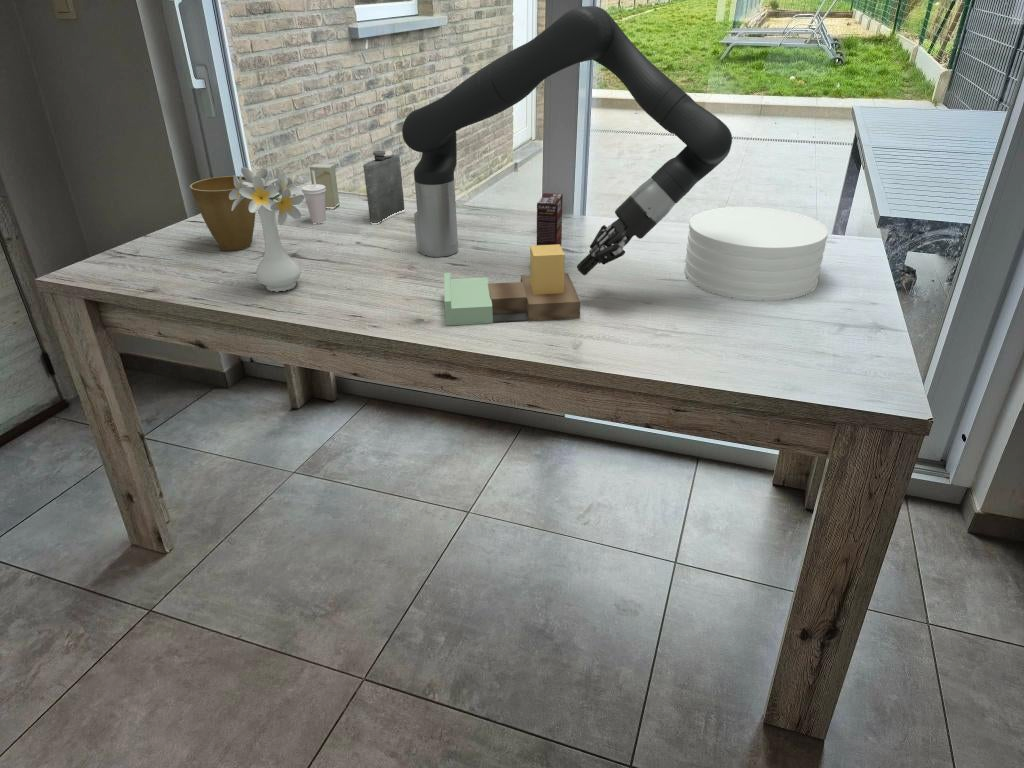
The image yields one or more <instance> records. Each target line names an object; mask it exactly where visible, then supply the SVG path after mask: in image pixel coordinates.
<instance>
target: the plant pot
mask: <svg viewBox="0 0 1024 768" xmlns="http://www.w3.org/2000/svg"><path fill="white" fill-rule="evenodd" d="M236 176H237V178H238V180H239V176H240V175H236ZM233 178H234V175H226V176H217V177H211V178H205V179H201V180H198V181H195V182H193V183H191V184H190V185H189V188H190V190H191V193H192V197H193V198H194V200H195V205H196V206H197V208H198V211H199V212H200V213H199V214H200V215H201V217H202V219H203V221H204V222H205V224H206V227H207V228H208V230H209V232H210V234H211V235H212V237H213V239H214V241H215V242H216V243H217V245H218V246H219V248H220V250H223V251H228V252H229V251H232V252H233V251H241V250H244V248H245V249H247V247H248V248H250V247H251V246H252V242H253V237H254V235H253V234H254V231H255V223H256V222H255V221H256V212H255V213H251V212H249V204H250V202H251V201H252V199H248V198H245V197H244V198H243V199H242V200H241V201H240V202H239V203H238V205H237V206H236V207H235V209H234V210H233V211H232V210H231V209H232V205H233V203H234V201H235V200H237V199H234V200H230V199H229V194H230V192H231V191H232V190H238V189H237V188H236V187H235V185H234V181H233ZM241 178H242V180H246V179H245V177H244V176H243V175H241ZM246 181H247V180H246ZM244 188H246V187H244Z"/></svg>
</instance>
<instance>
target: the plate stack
mask: <svg viewBox="0 0 1024 768" xmlns="http://www.w3.org/2000/svg"><path fill="white" fill-rule="evenodd" d="M688 226H689V227H688V228H689V231H688V234H687V244H686V253H685V260H684V262H685V265H684V270H683V273H685V274H684V276H685V275H686V276H685V278H686V277H687V278H688V279H689V280H690V281H691V282H692V283H693V285H694V284H695V285H694V286H695V287H697V286H698V287H697V288H699V287H700V288H699V289H701V288H702V289H701V290H703V289H705V290H704V291H706V290H707V291H706V292H709V293H711V292H712V294H714V293H715V294H714V295H719V296H722V295H723V296H722V297H726V296H727V298H731V297H733V298H732V299H736V298H738V299H737V300H743V299H745V300H744V301H754V300H778V301H783V300H782V299H787V300H790V299H789V298H793V299H795V298H794V297H798V296H801V297H803V296H802V295H804V294H806V295H808V294H810V293H812V292H813V291H814V290H815V289H816V288H817V286H818V283H819V282H818V281H819V275H820V272H821V268H822V267H821V265H822V262H823V258H824V253H825V249H826V242H827V239H828V235H829V230H828V228H827V226H826V225H825V224H823V223H822V222H821V221H818V220H817V219H815V218H812V217H810V216H807V215H804V214H800V213H797V212H793V211H788V210H783V209H777V208H772V207H771V208H769V207H759V206H758V207H757V206H729V207H727V206H726V207H719V208H718V207H717V208H712V209H708V210H704V211H702V212H698V213H696V214H695V215H693V216H692V217H691V218H690V220H689V225H688ZM687 278H686V279H687ZM688 279H687V280H688ZM689 280H688V281H689ZM690 281H689V282H690ZM691 282H690V283H691ZM815 287H816V288H815ZM814 288H815V289H814ZM813 289H814V290H813ZM812 290H813V291H812ZM811 291H812V292H811ZM809 292H810V293H809ZM807 293H808V294H807ZM804 296H805V295H804ZM798 298H799V297H798ZM746 299H747V300H746Z"/></svg>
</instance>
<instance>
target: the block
mask: <svg viewBox="0 0 1024 768" xmlns="http://www.w3.org/2000/svg"><path fill="white" fill-rule="evenodd" d="M529 253H530V254H529V255H530V256H529V259H530V262H529V265H530V266H529V267H530V268H529V269H530V270H529V272H530V273H529V275H530V284H531V287H532V291H533V294H534V295H540V294H559V293H564V273H565V259H566V258H565V257H566V256H565V255H566V254H565V253H564V250H563V248H562V244H561V245H560V244H557V245H537V244H536V245H530V246H529Z"/></svg>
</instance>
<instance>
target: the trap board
mask: <svg viewBox="0 0 1024 768" xmlns="http://www.w3.org/2000/svg"><path fill="white" fill-rule="evenodd" d="M488 287H489V295H490V296H491V298H490V299H491V301H492V311H493V323H492V324H497V323H499V324H500V323H517V322H518V323H520V322H535V321H537V322H538V321H552V320H570V319H580V318H581V300H580V298H579V295H578V293H577V291H576V289H575V286H574V284H573V282H572V280H571V277H570V274H569V273H568V272H567V273H566V272H564V293H559V294H540V295H534V294H533V291H532V287H531V284H530V274H529V275H520V281H513V282H497V283H495V282H494V283H489V284H488Z"/></svg>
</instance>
